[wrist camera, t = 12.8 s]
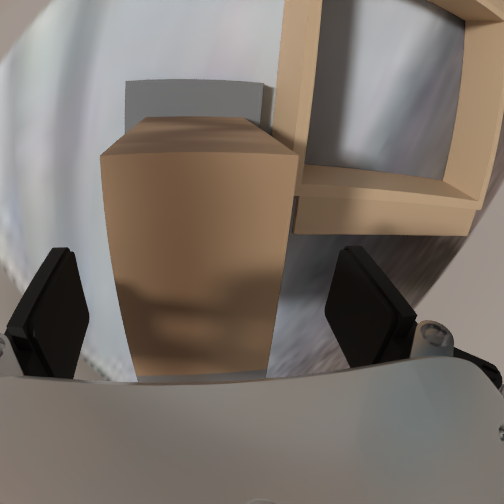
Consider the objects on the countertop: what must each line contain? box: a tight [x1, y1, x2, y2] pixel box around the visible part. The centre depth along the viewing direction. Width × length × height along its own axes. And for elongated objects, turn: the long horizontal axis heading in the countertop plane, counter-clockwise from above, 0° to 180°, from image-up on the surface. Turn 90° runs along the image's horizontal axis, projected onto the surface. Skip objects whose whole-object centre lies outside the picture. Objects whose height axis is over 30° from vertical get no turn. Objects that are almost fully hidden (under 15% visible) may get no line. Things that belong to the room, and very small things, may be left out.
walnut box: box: [100, 116, 299, 383], centre depth 14 cm, size 5×10×9 cm, turn 175°
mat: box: [125, 79, 264, 134], centre depth 18 cm, size 7×14×1 cm, turn 175°
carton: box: [272, 0, 504, 236], centre depth 15 cm, size 14×18×4 cm
